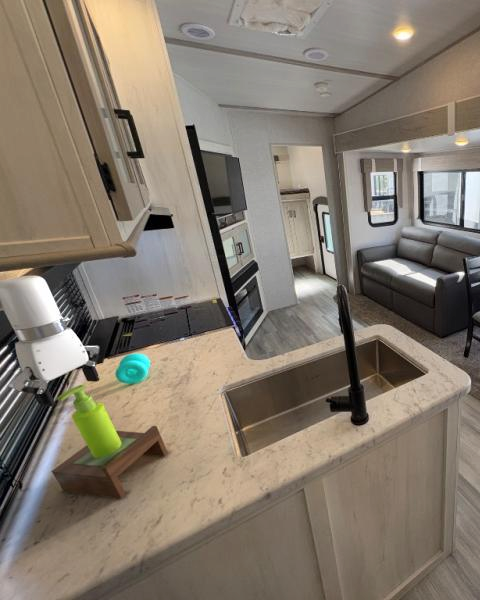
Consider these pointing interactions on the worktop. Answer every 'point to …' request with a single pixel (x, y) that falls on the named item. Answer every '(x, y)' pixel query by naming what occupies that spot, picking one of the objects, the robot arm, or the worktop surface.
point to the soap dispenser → (93, 423)
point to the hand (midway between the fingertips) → (72, 392)
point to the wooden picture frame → (107, 464)
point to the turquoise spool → (132, 368)
